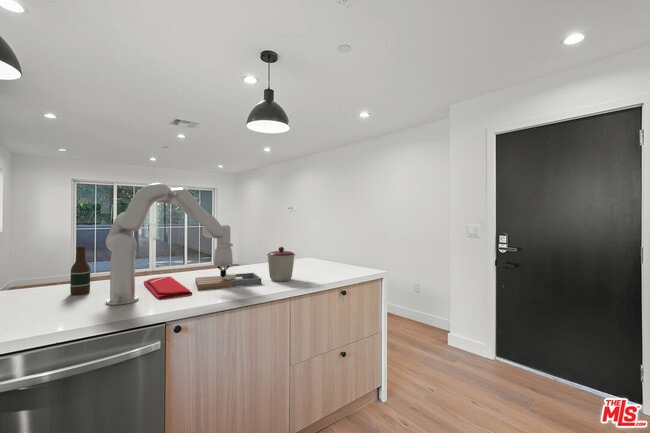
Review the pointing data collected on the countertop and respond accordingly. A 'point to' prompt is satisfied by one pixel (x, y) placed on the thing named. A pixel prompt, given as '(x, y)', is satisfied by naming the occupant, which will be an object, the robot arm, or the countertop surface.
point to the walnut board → (212, 282)
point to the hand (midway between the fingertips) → (223, 277)
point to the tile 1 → (230, 276)
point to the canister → (280, 265)
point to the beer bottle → (80, 274)
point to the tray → (246, 280)
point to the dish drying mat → (166, 288)
